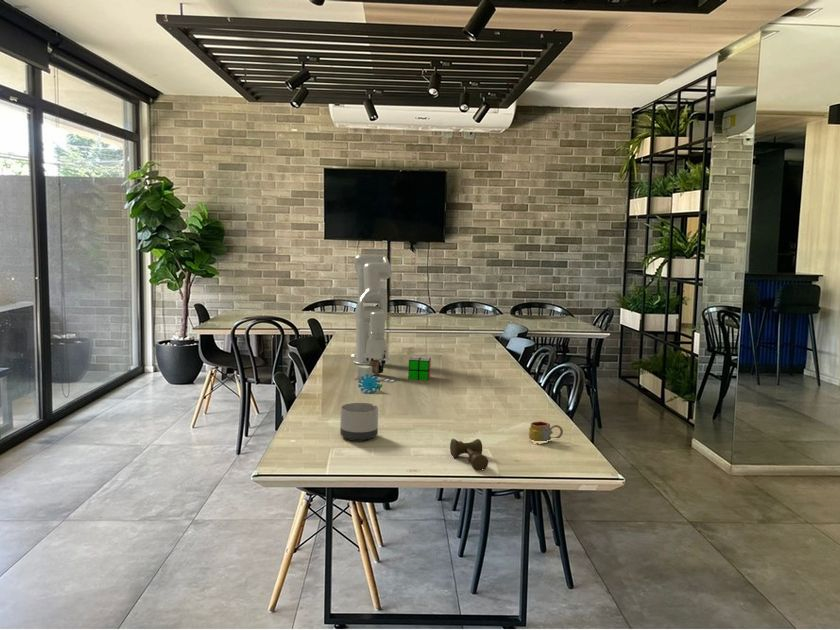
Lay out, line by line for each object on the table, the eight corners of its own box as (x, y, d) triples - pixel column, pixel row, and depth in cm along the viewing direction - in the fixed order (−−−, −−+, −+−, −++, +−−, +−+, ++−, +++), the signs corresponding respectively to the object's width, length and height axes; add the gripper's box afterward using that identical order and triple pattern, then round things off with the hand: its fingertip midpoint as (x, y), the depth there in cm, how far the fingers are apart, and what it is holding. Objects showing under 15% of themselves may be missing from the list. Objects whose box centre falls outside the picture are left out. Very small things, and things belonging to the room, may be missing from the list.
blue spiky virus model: (354, 389, 283) (361, 370, 288) (356, 396, 287) (363, 377, 293) (378, 394, 281) (385, 376, 287) (379, 401, 285) (386, 383, 291)
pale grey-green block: (357, 379, 310) (357, 366, 309) (363, 377, 314) (363, 365, 313) (365, 380, 307) (366, 368, 306) (371, 378, 311) (372, 366, 311)
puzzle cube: (430, 376, 322) (430, 357, 321) (428, 380, 312) (429, 360, 311) (410, 375, 323) (411, 356, 322) (408, 379, 313) (408, 359, 312)
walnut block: (369, 372, 319) (369, 361, 319) (374, 371, 324) (375, 359, 323) (377, 374, 317) (377, 362, 316) (382, 372, 321) (383, 360, 320)
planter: (381, 441, 216) (382, 411, 214) (343, 443, 212) (344, 413, 211) (373, 430, 228) (373, 401, 227) (337, 432, 224) (337, 403, 223)
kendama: (464, 474, 190) (445, 450, 209) (495, 473, 192) (473, 449, 211) (466, 454, 189) (446, 432, 208) (496, 454, 191) (474, 432, 210)
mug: (531, 445, 218) (532, 426, 217) (526, 438, 224) (527, 420, 223) (565, 445, 219) (567, 426, 218) (559, 438, 226) (560, 420, 225)
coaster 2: (377, 381, 308) (377, 380, 308) (387, 378, 315) (387, 377, 314) (391, 383, 304) (391, 382, 304) (400, 380, 310) (400, 380, 310)
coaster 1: (353, 379, 309) (353, 379, 309) (363, 377, 316) (363, 376, 316) (366, 382, 305) (366, 381, 305) (376, 379, 312) (376, 378, 312)
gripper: (358, 335, 319) (358, 371, 321) (386, 339, 311) (385, 375, 313) (367, 333, 326) (366, 368, 328) (395, 337, 317) (394, 373, 319)
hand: (376, 371), depth 320 cm, fingers closed on walnut block, 5 cm apart
